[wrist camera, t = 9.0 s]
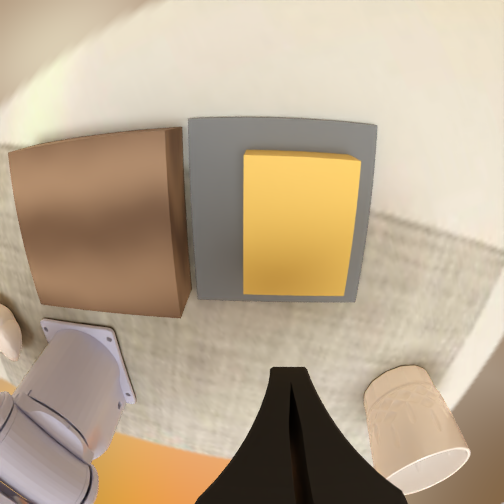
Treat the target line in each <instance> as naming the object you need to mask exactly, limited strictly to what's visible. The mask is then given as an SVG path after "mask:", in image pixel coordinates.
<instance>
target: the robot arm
mask: <svg viewBox="0 0 504 504" xmlns="http://www.w3.org/2000/svg"><path fill="white" fill-rule="evenodd" d="M40 323H41V326H42V329H43V331H44V334H45V336H46V339H47V341H48V345H47V346H46V348H45V349H44V350H43V352H42V353H41V354H40V356H39V357H38V359H37V360H36V361H35V363H34V364H33V365H32V367H31V368H30V370H29V371H28V373H27V374H26V375H25V377H24V378H23V380H22V381H21V383H20V384H19V386H18V387H17V388H16V390H15V391H14V393H13V395H10V394H9V393H8V392H0V481H2V482H3V483H4V484H6V485H7V486H8V487H10V488H11V489H13V490H14V491H15V492H17V493H18V494H20V495H21V496H22V497H24V498H26V499H27V500H25V499H24V498H22V497H20V496H19V495H18V494H17V493H15V492H14V491H12V490H11V489H10V488H8V487H7V486H6V485H4V484H3V483H2V482H0V504H93V503H94V502H95V500H96V497H97V493H98V482H99V481H98V473H97V470H96V469H95V467H94V466H93V465H92V464H91V462H92V460H94V459H96V458H98V457H99V456H101V455H102V454H103V453H104V452H105V451H106V450H107V449H108V447H109V445H110V443H111V440H112V438H113V435H114V433H115V430H116V428H117V425H118V422H119V420H120V417H121V415H122V412H123V410H124V407H125V405H126V403H130V404H134V403H135V402H136V398H135V395H134V392H133V389H132V386H131V384H130V381H129V378H128V375H127V372H126V369H125V365H124V362H123V359H122V356H121V353H120V349H119V346H118V343H117V339H116V336H115V333H114V331H113V330H112V329H111V328H108V327H99V326H92V325H84V324H77V323H70V322H63V321H57V320H50V319H42V320H41V322H40ZM109 337H110V338H111V339H110V338H109ZM195 504H408V503H407V501H406V498H405V496H404V494H403V492H402V490H400V489H399V488H398V487H396V486H395V485H393V484H392V483H391V482H389V481H388V480H387V479H386V478H384V477H383V476H382V475H381V474H380V473H378V472H377V471H376V470H375V469H374V468H373V467H372V466H371V465H370V464H369V463H368V462H367V461H366V460H365V459H364V458H363V457H362V456H361V455H360V454H359V453H358V452H357V451H356V450H355V449H354V448H353V446H352V445H351V444H350V443H349V442H348V440H347V439H346V438H345V437H344V435H343V434H342V433H341V431H340V430H339V429H338V427H337V426H336V424H335V423H334V421H333V420H332V418H331V417H330V415H329V413H328V412H327V410H326V408H325V407H324V405H323V403H322V401H321V400H320V398H319V396H318V394H317V392H316V390H315V388H314V386H313V383H312V381H311V379H310V376H309V374H308V371H307V369H306V368H305V367H272V368H271V369H270V378H269V383H268V387H267V390H266V394H265V397H264V399H263V402H262V405H261V408H260V410H259V412H258V414H257V417H256V419H255V421H254V423H253V425H252V427H251V429H250V431H249V433H248V435H247V436H246V438H245V440H244V442H243V443H242V445H241V446H240V448H239V449H238V451H237V452H236V454H235V456H234V457H233V458H232V460H231V461H230V463H229V464H228V465H227V467H226V468H225V469H224V470H223V471H222V473H221V474H220V475H219V476H218V478H217V479H216V480H215V481H214V482H213V483H212V484H211V485H210V486H209V487H208V488H207V489H206V491H205V492H204V493H203V494H202V495H201V496H200V497H199V498H198V499H197V501H196V503H195ZM501 504H504V502H503V503H501Z"/></svg>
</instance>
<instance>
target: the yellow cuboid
mask: <svg viewBox="0 0 504 504" xmlns="http://www.w3.org/2000/svg"><path fill="white" fill-rule="evenodd" d="M360 169H361V161H360V160H358V159H356V158H355V157H353V156H351V155H348V154H336V153H322V152H304V151H282V150H246V152H245V154H244V182H243V294H251V295H292V296H344V292H345V286H346V280H347V274H348V268H349V261H350V255H351V248H352V240H353V233H354V225H355V217H356V209H357V200H358V190H359V180H360Z"/></svg>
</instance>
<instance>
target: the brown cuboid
mask: <svg viewBox="0 0 504 504" xmlns="http://www.w3.org/2000/svg"><path fill="white" fill-rule="evenodd" d="M8 156H9V165H10V173H11V181H12V187H13V194H14V199H15V205H16V211H17V216H18V221H19V225H20V230H21V234H22V239H23V243H24V247H25V251H26V255H27V259H28V263H29V266H30V270H31V273H32V277H33V280H34V283H35V287H36V290H37V293H38V296H39V299H40V302H41V304H44V305H51V306H58V307H66V308H75V309H83V310H92V311H101V312H111V313H121V314H132V315H144V316H157V317H171V318H181V316H182V313H183V311H184V308H185V305H186V303H187V300H188V298H189V295H190V292H191V290H192V287H191V276H190V264H189V252H188V239H187V225H186V209H185V191H184V170H183V143H182V127H173V128H158V129H146V130H135V131H125V132H115V133H107V134H99V135H91V136H84V137H78V138H71V139H65V140H59V141H53V142H48V143H42V144H38V145H34V146H30V147H26V148H23V149H19V150H16V151H12V152H9V153H8Z"/></svg>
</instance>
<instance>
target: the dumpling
mask: <svg viewBox="0 0 504 504" xmlns="http://www.w3.org/2000/svg"><path fill="white" fill-rule="evenodd" d="M21 349H22V334H21V330H20V327H19V324H18V323H17V322H16V319H15V318H14V315H13V313H12V312H11V311H10V310H9V309H8V308H7V307H5V306H4V305H2V304H0V352H1V353H3V354H4V355H5V356H6V357H7V358H8V359H10V360H12V361H18V359H19V356H20V353H21Z"/></svg>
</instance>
